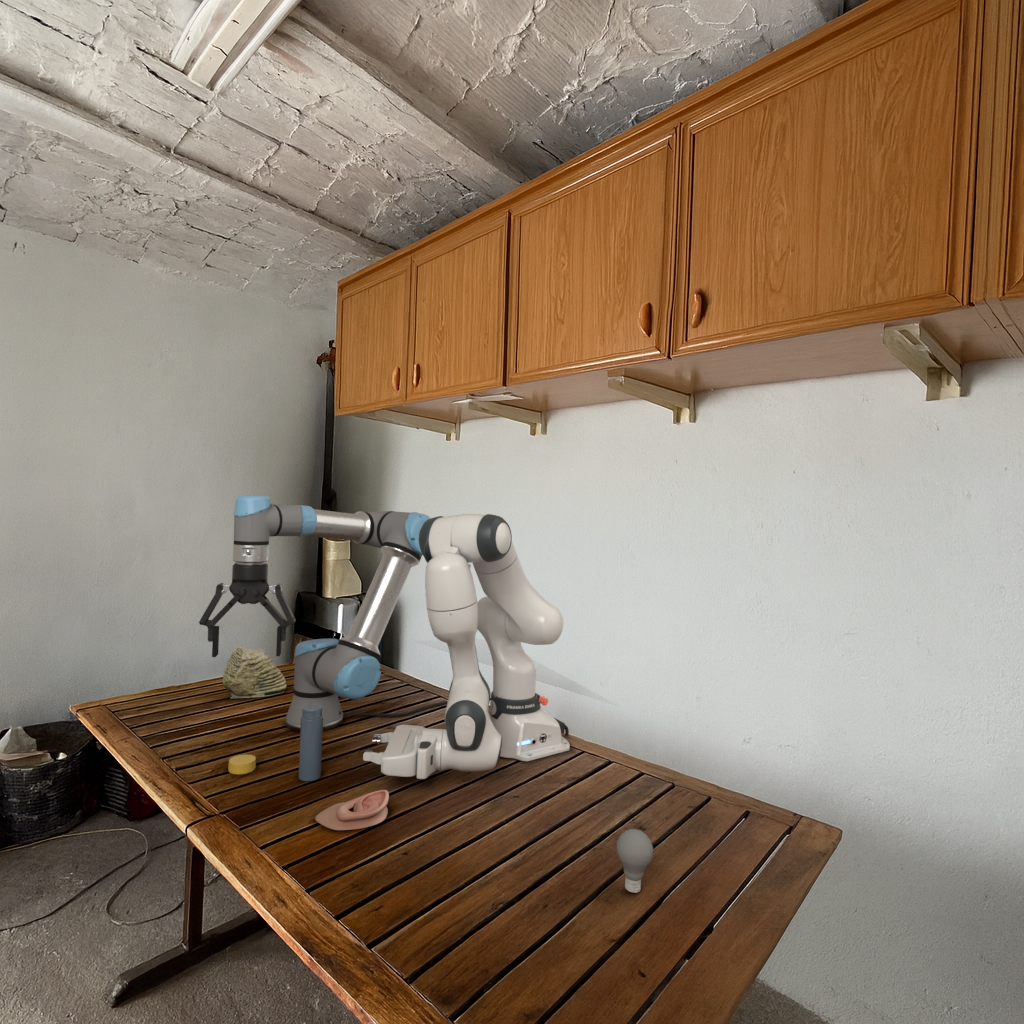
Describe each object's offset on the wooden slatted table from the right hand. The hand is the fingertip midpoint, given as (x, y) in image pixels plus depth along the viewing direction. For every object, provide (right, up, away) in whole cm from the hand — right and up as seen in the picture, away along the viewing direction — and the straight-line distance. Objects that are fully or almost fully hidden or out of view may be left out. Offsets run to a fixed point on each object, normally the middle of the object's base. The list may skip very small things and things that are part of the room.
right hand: (368, 746), depth 143 cm
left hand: (-28, +20, +2) cm, 35 cm away
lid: (-29, -4, +2) cm, 30 cm away
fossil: (-48, -4, +55) cm, 73 cm away
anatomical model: (+1, -8, -17) cm, 19 cm away
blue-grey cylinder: (-13, -7, 0) cm, 15 cm away
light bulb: (+53, -10, -38) cm, 65 cm away
